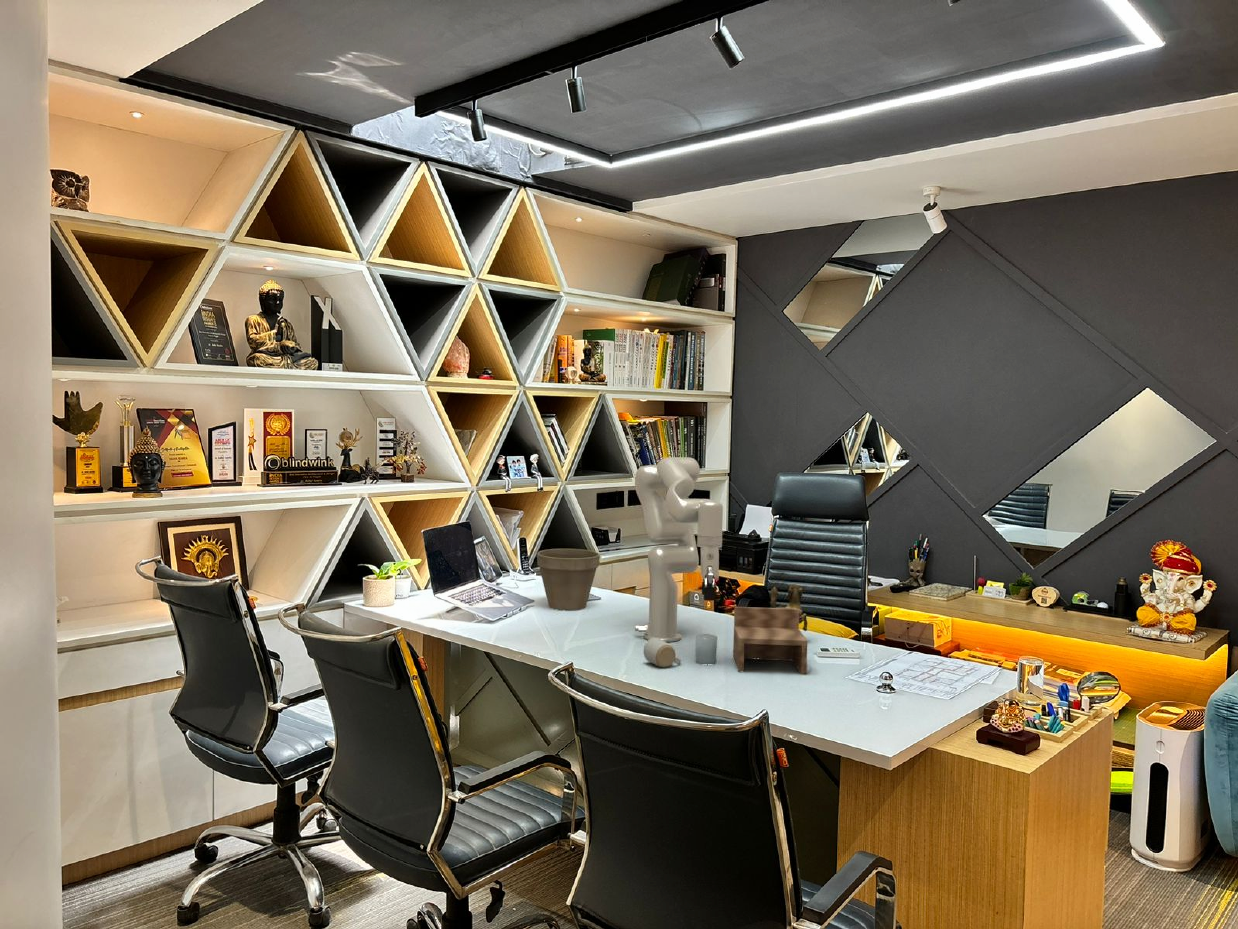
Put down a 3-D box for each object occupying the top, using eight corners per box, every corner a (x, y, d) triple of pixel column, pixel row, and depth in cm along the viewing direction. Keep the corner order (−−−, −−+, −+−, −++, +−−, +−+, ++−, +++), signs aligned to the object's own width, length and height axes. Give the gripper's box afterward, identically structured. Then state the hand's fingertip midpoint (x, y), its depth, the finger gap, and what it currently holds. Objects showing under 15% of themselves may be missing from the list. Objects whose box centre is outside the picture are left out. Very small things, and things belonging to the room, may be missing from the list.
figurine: (818, 642, 309) (820, 583, 309) (774, 653, 292) (776, 591, 291) (786, 635, 319) (788, 578, 318) (742, 646, 301) (744, 585, 300)
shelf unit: (738, 671, 268) (740, 618, 268) (733, 657, 286) (734, 606, 285) (806, 674, 267) (808, 620, 267) (796, 659, 285) (798, 608, 284)
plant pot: (587, 616, 343) (588, 558, 342) (526, 610, 350) (527, 554, 349) (606, 604, 367) (607, 550, 366) (549, 599, 374) (550, 547, 373)
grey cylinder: (695, 664, 275) (696, 638, 275) (694, 659, 282) (695, 633, 281) (716, 665, 275) (717, 639, 275) (715, 660, 282) (716, 634, 281)
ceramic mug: (655, 669, 268) (657, 644, 268) (642, 663, 275) (643, 638, 275) (686, 666, 273) (687, 641, 273) (672, 660, 280) (673, 635, 280)
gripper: (724, 545, 268) (722, 603, 269) (719, 539, 286) (718, 593, 286) (698, 544, 269) (697, 602, 269) (695, 538, 286) (694, 592, 286)
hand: (708, 597), depth 278 cm, fingers open, 9 cm apart
